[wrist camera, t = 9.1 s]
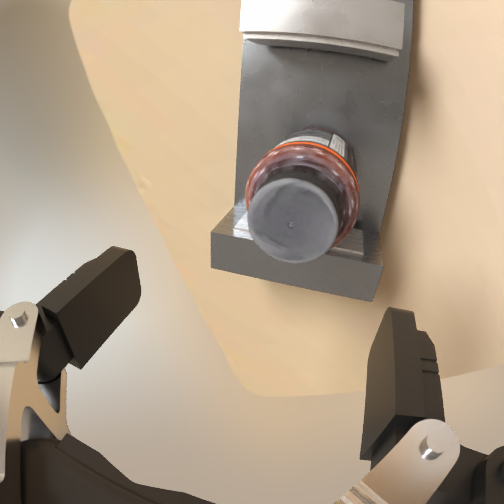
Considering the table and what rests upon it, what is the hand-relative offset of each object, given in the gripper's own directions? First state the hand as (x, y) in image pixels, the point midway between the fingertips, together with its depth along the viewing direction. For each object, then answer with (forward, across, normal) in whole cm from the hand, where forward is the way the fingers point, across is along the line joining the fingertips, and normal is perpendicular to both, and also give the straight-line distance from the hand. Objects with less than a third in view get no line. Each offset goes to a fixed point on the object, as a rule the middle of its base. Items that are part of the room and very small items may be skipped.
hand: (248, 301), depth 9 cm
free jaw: (+16, 0, -13) cm, 21 cm away
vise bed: (+18, 0, -5) cm, 18 cm away
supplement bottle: (+16, 0, 0) cm, 17 cm away
